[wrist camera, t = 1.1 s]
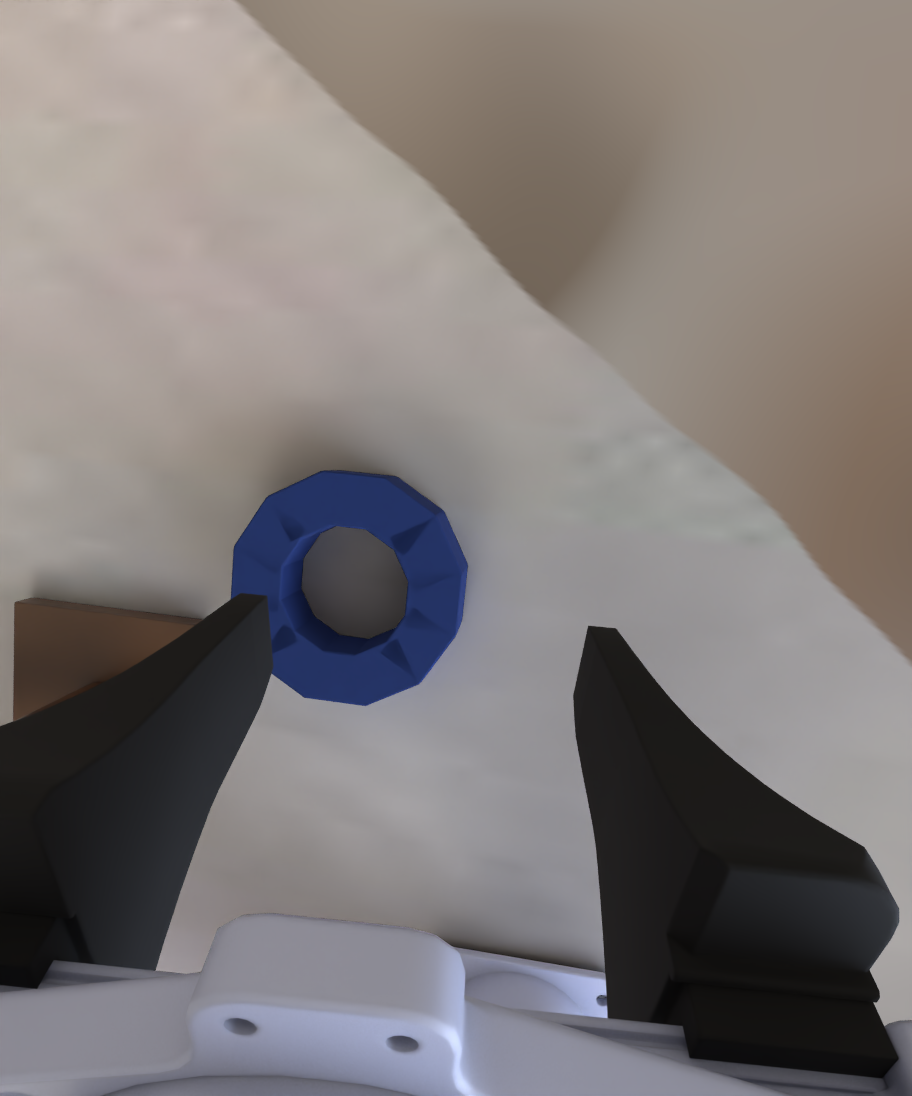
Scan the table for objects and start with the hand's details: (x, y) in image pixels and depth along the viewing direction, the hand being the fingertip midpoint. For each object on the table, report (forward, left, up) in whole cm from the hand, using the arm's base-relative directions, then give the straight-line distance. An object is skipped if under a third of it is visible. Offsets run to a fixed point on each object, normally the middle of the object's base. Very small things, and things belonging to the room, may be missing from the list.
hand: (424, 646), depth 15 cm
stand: (-8, +15, -12) cm, 20 cm away
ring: (-1, +4, -12) cm, 13 cm away
